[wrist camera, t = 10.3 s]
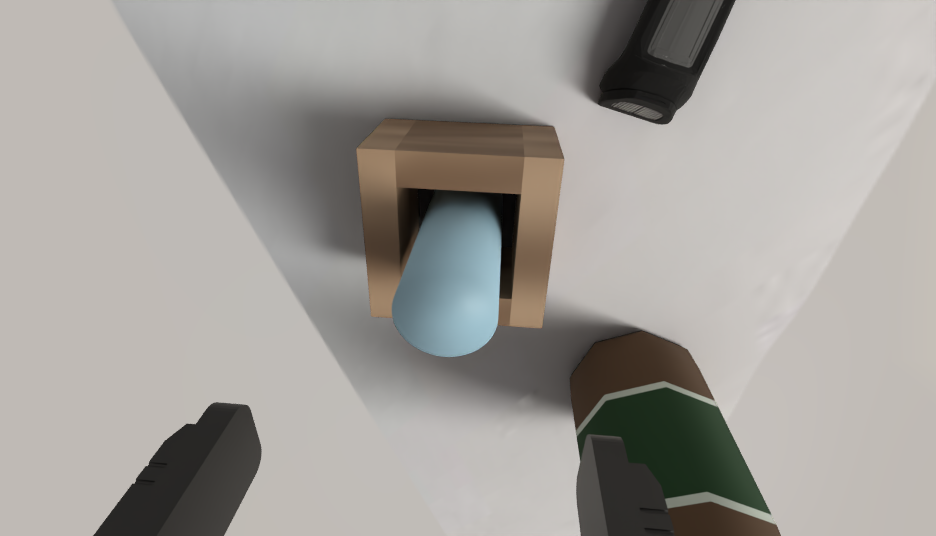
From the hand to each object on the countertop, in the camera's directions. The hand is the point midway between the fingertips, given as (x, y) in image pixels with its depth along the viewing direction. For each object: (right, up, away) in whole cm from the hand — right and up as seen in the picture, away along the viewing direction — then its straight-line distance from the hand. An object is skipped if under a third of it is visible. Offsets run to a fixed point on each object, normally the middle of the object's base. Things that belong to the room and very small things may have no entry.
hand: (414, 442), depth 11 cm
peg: (+1, +8, +13) cm, 15 cm away
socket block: (+1, +8, +13) cm, 15 cm away
